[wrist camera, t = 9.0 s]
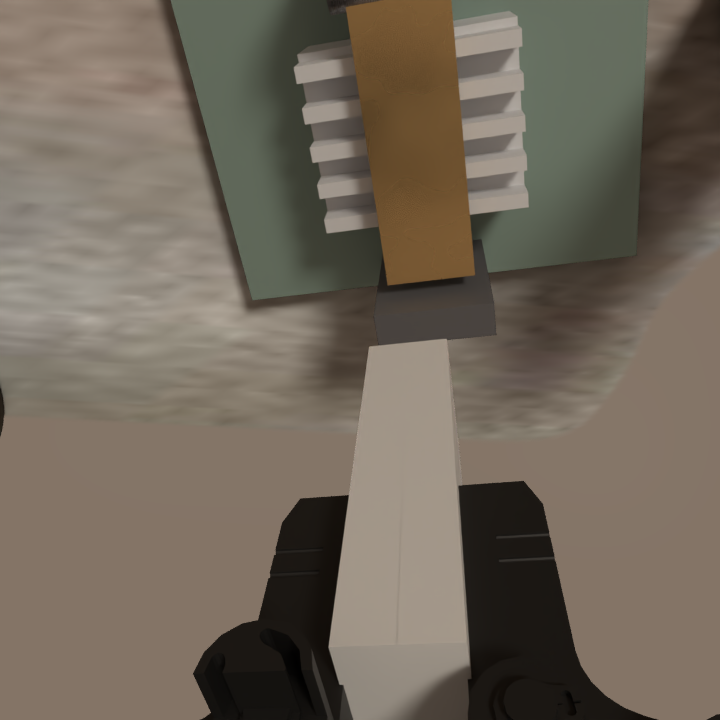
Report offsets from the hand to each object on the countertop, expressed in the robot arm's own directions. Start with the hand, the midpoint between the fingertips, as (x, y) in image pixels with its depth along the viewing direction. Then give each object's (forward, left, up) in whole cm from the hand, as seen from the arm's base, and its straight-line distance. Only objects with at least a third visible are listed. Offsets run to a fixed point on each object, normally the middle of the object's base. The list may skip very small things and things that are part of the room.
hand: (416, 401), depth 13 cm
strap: (0, +3, -11) cm, 12 cm away
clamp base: (0, +3, -16) cm, 16 cm away
